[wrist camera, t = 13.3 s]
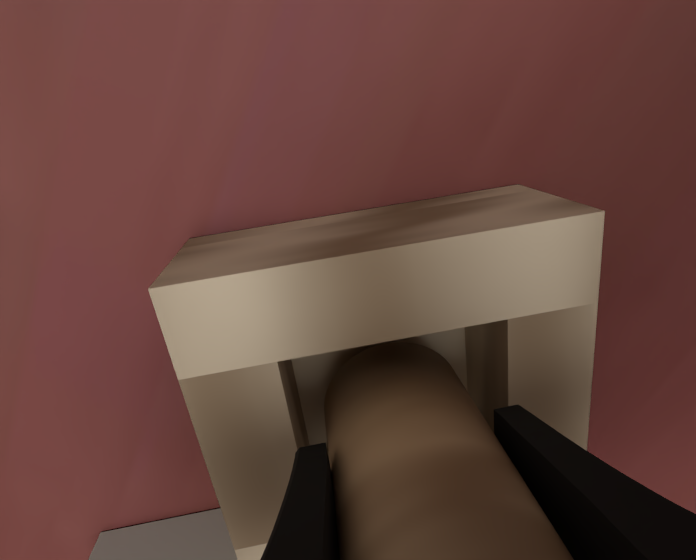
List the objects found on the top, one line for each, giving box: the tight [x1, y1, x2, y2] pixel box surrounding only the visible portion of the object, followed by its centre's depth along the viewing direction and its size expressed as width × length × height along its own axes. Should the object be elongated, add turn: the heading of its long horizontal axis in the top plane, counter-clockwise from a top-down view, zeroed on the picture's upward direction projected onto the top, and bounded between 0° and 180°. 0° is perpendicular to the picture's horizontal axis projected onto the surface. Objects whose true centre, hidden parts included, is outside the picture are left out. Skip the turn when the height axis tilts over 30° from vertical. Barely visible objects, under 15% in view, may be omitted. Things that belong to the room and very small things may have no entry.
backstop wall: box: [88, 508, 238, 560], centre depth 16 cm, size 18×2×3 cm, turn 98°
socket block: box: [148, 184, 605, 560], centre depth 13 cm, size 10×10×4 cm
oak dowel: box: [324, 342, 574, 560], centre depth 9 cm, size 4×4×8 cm
